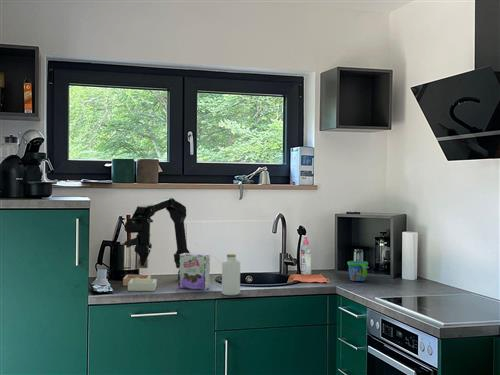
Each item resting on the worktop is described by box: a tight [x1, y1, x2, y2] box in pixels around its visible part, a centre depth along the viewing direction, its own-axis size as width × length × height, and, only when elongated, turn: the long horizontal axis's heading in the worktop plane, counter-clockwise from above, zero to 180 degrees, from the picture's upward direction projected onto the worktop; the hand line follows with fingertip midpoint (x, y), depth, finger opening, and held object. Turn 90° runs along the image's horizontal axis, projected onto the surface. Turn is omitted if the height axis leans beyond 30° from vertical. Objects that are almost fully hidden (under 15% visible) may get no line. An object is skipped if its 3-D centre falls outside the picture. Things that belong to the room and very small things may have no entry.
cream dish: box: [127, 278, 158, 293], centre depth 283 cm, size 12×12×4 cm
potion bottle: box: [221, 253, 241, 296], centre depth 275 cm, size 8×8×18 cm
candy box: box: [178, 252, 211, 291], centre depth 289 cm, size 14×6×16 cm, turn 70°
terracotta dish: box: [122, 274, 152, 287], centre depth 296 cm, size 12×12×4 cm
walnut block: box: [137, 258, 149, 269], centre depth 283 cm, size 4×4×4 cm
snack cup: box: [347, 260, 369, 282], centre depth 317 cm, size 16×10×10 cm
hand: (143, 265), depth 283 cm, fingers closed on walnut block, 4 cm apart
